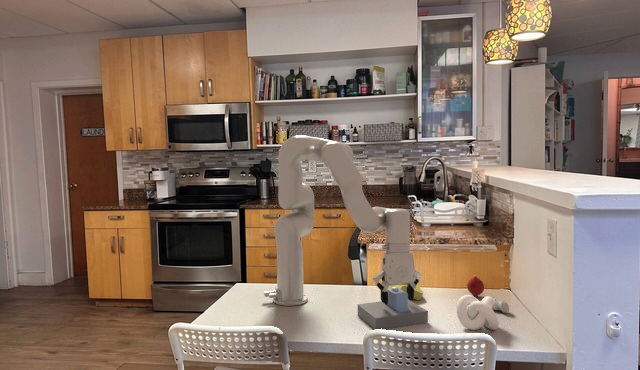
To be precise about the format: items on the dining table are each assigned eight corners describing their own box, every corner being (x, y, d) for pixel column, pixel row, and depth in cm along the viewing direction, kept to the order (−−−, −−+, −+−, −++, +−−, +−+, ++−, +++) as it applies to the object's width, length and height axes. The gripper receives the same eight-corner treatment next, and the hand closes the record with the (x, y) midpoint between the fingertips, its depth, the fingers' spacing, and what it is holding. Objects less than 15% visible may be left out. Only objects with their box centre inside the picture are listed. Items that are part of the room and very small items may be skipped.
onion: (485, 295, 150) (485, 274, 149) (482, 300, 145) (482, 278, 144) (468, 293, 153) (469, 272, 152) (465, 297, 148) (465, 276, 148)
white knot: (463, 316, 129) (464, 289, 129) (504, 324, 122) (504, 295, 122) (453, 328, 120) (453, 298, 120) (496, 337, 113) (496, 306, 113)
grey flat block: (375, 330, 118) (375, 318, 118) (357, 315, 131) (357, 304, 130) (427, 322, 124) (427, 311, 124) (405, 308, 136) (405, 298, 136)
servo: (399, 322, 123) (399, 293, 123) (384, 311, 132) (384, 285, 131) (410, 320, 124) (410, 292, 124) (395, 310, 133) (395, 284, 133)
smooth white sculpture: (483, 310, 138) (495, 304, 139) (500, 318, 130) (512, 312, 131) (480, 299, 137) (492, 293, 139) (497, 306, 130) (509, 300, 131)
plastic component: (425, 294, 144) (400, 283, 143) (415, 312, 145) (391, 301, 144) (411, 276, 164) (389, 265, 163) (403, 291, 164) (381, 281, 164)
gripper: (378, 251, 121) (378, 308, 121) (427, 247, 126) (427, 301, 127) (367, 247, 128) (367, 300, 129) (414, 243, 133) (414, 294, 134)
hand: (397, 301), depth 128 cm, fingers open, 8 cm apart
